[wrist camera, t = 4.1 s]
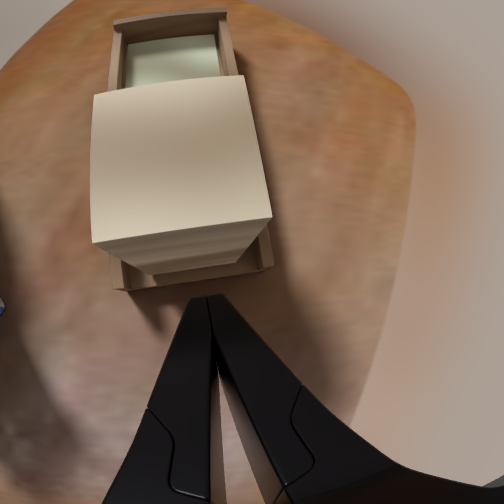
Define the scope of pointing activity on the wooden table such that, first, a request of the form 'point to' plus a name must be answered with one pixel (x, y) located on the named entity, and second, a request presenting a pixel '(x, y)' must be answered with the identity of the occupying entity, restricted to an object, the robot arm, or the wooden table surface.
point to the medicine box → (1, 306)
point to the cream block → (176, 174)
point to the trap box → (172, 69)
